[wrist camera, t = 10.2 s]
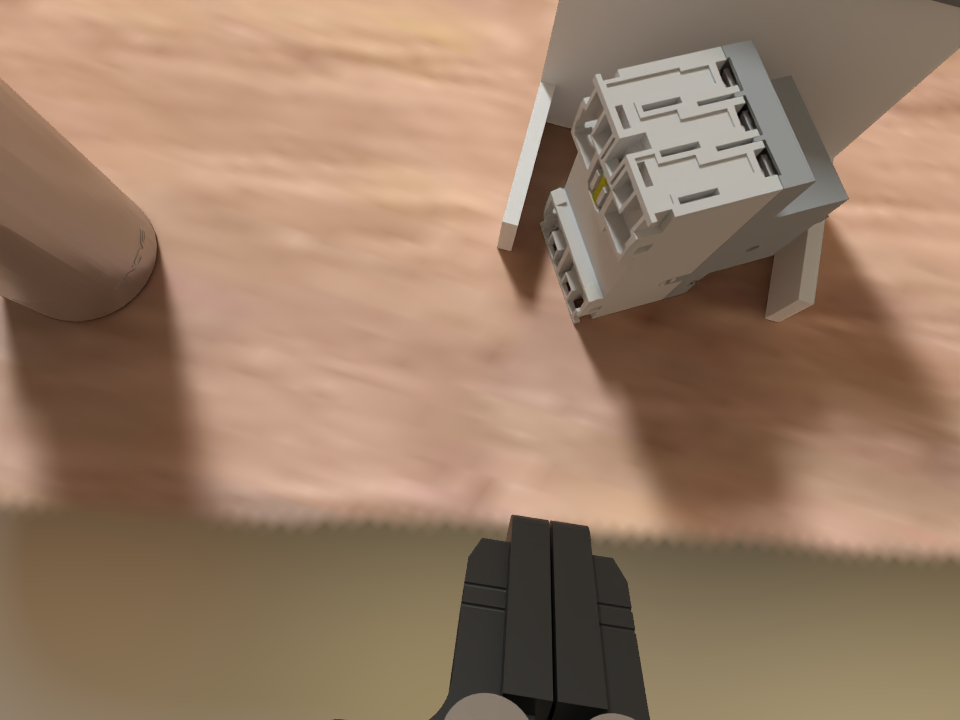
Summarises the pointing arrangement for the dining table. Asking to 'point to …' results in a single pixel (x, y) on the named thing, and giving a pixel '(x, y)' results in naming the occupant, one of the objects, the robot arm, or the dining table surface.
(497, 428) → the dining table surface
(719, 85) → the circuit breaker
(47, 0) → the dining table surface
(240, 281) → the dining table surface
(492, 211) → the dining table surface
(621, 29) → the panel bay
